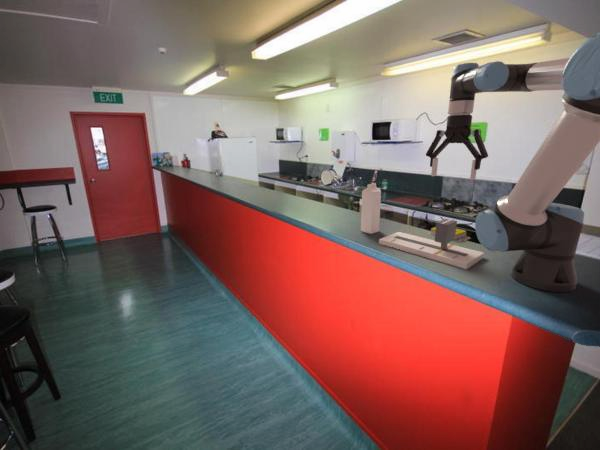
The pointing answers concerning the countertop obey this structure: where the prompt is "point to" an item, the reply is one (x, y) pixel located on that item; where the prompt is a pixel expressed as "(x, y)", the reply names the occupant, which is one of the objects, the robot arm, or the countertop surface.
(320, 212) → the countertop surface
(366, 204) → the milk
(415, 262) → the countertop surface
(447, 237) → the fader
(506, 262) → the countertop surface
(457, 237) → the emergency button
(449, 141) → the robot arm
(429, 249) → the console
